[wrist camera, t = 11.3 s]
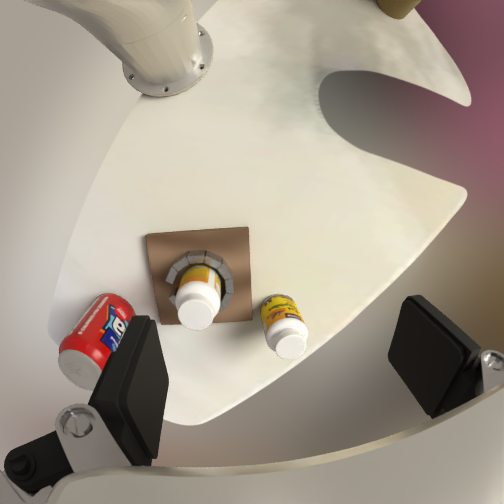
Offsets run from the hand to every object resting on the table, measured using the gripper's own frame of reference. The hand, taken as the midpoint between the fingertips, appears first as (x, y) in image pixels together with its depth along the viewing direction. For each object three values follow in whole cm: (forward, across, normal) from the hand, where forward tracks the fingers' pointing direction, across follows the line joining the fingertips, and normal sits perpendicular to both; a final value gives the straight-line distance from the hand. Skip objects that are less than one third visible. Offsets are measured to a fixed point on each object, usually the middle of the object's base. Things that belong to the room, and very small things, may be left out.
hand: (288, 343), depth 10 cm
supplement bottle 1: (+28, +6, +10) cm, 31 cm away
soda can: (+30, +20, +16) cm, 39 cm away
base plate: (+29, +6, +10) cm, 32 cm away
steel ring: (+28, +6, +10) cm, 30 cm away
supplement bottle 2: (+29, -5, +16) cm, 34 cm away
